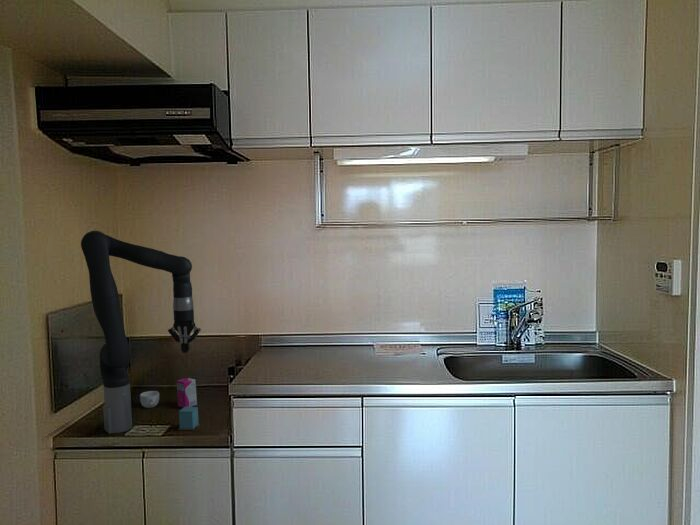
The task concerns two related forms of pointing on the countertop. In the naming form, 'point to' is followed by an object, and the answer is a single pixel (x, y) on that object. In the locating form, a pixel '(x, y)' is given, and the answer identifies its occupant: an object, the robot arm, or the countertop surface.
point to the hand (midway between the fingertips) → (185, 352)
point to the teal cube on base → (188, 417)
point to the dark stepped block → (189, 429)
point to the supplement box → (186, 393)
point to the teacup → (149, 399)
